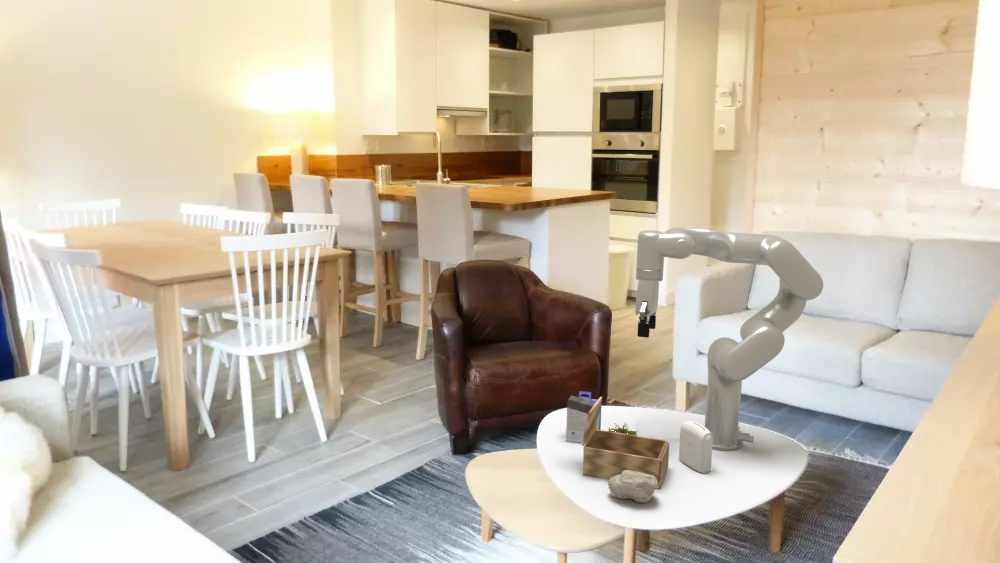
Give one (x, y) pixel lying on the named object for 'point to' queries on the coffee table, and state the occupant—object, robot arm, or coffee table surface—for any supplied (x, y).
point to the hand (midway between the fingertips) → (646, 332)
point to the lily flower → (623, 430)
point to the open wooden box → (624, 455)
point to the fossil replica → (633, 486)
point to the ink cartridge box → (579, 421)
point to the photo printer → (696, 446)
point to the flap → (590, 409)
